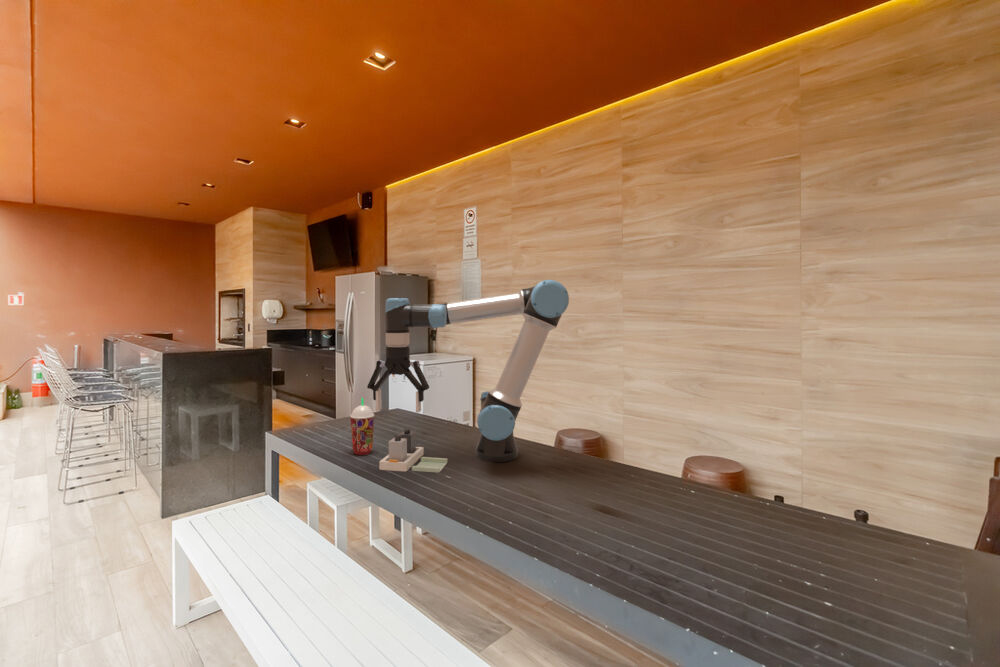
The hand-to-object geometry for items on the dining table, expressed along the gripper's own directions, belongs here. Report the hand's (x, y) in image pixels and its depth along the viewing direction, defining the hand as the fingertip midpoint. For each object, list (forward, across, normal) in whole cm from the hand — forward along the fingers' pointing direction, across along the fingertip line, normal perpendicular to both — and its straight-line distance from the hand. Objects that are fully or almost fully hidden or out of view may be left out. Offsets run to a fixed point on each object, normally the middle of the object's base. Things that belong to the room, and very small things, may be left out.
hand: (398, 410), depth 146 cm
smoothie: (+19, +18, -12) cm, 29 cm away
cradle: (+19, -10, -2) cm, 21 cm away
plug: (+18, 0, 0) cm, 18 cm away
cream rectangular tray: (+19, 0, -4) cm, 19 cm away
